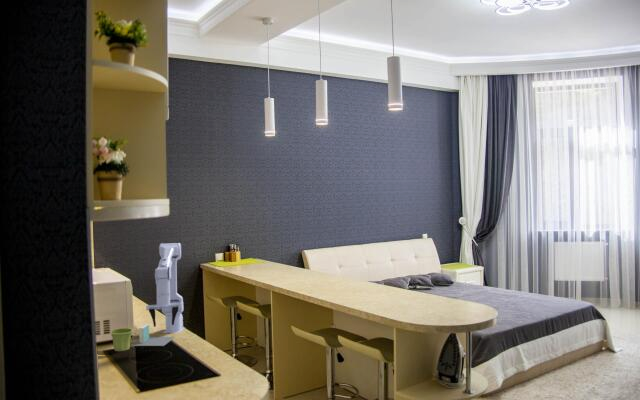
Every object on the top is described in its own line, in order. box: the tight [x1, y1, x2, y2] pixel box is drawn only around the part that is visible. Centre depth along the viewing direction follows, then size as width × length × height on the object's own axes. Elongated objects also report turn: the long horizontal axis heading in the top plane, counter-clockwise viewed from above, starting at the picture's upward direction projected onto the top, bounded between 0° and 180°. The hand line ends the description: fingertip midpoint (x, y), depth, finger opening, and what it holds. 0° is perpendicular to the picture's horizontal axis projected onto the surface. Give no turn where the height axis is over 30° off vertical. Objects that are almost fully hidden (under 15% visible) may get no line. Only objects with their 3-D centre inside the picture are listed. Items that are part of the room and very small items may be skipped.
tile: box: [138, 323, 150, 343], centre depth 250 cm, size 7×2×7 cm, turn 175°
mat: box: [130, 336, 176, 347], centre depth 250 cm, size 14×16×1 cm
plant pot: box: [109, 327, 134, 352], centre depth 238 cm, size 9×9×9 cm
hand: (163, 325), depth 239 cm, fingers open, 7 cm apart
